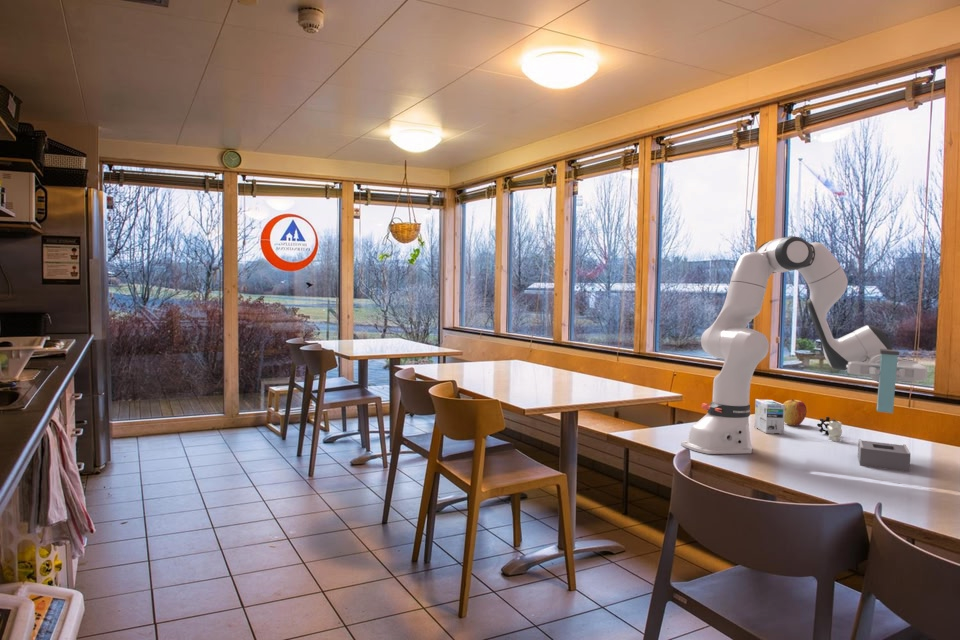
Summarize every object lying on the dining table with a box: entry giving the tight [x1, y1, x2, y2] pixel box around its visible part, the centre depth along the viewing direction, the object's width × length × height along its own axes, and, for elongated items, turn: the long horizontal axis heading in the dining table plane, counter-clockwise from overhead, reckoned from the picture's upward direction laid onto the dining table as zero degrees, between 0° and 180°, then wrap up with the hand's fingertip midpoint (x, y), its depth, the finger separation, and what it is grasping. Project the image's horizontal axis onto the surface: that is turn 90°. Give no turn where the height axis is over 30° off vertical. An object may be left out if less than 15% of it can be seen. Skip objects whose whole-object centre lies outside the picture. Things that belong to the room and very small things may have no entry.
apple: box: [782, 398, 807, 426], centre depth 247 cm, size 9×9×10 cm
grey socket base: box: [857, 438, 911, 473], centre depth 188 cm, size 12×12×6 cm
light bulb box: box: [754, 398, 785, 435], centre depth 235 cm, size 11×7×11 cm, turn 179°
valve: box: [816, 416, 843, 442], centre depth 225 cm, size 7×7×12 cm
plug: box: [876, 349, 900, 414], centre depth 187 cm, size 4×4×18 cm
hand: (888, 372), depth 186 cm, fingers closed on plug, 4 cm apart
